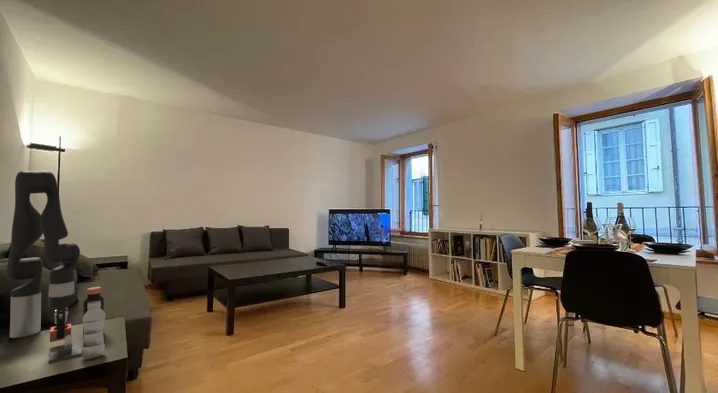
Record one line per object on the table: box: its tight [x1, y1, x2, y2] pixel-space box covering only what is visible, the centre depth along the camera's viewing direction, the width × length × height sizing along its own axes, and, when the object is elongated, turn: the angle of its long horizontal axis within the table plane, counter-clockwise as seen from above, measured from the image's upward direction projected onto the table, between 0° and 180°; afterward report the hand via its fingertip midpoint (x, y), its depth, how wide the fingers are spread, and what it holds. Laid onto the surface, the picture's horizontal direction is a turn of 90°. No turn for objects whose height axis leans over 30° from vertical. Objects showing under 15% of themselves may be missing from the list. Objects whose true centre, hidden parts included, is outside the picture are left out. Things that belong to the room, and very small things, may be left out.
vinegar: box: [82, 286, 105, 337], centre depth 136 cm, size 7×7×20 cm
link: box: [49, 323, 72, 343], centre depth 125 cm, size 6×6×4 cm
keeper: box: [47, 333, 83, 365], centre depth 117 cm, size 10×10×7 cm
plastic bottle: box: [81, 301, 107, 360], centre depth 114 cm, size 6×7×20 cm
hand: (60, 335), depth 125 cm, fingers closed on link, 6 cm apart
